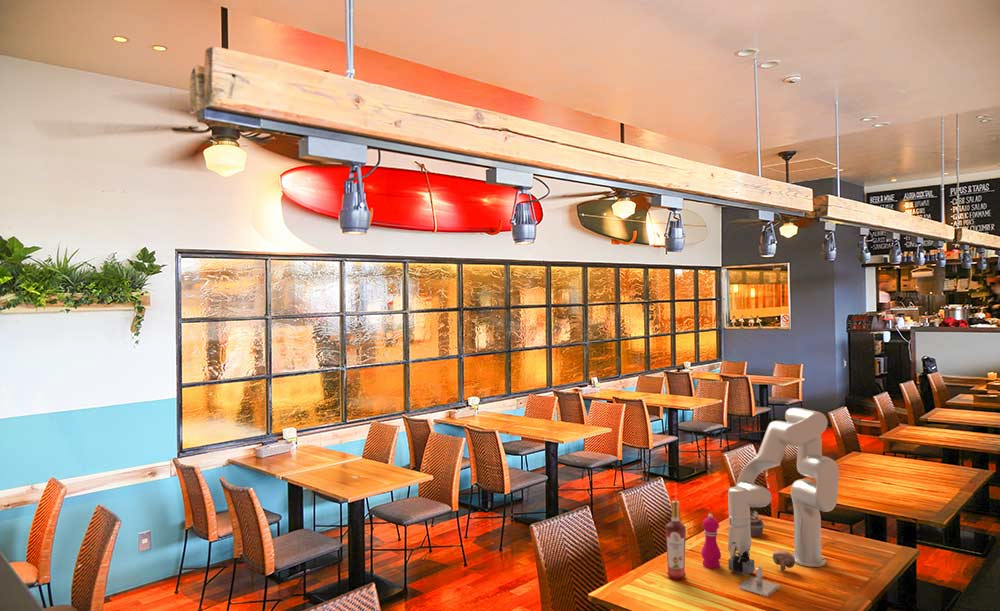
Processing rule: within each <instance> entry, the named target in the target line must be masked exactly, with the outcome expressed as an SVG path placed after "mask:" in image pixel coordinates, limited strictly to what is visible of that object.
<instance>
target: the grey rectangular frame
mask: <svg viewBox="0 0 1000 611" xmlns="http://www.w3.org/2000/svg"><path fill="white" fill-rule="evenodd" d="M736 556H737V557H738V554H736ZM727 560H728V562H727V564H728V571H732V572H734V573H739V574H741V575H742V574H743V575H746V576H750V575H751V574H752V573H753V572H754V571H755V572H756V568H755V560H754V559H753V558H752V559H751V558H749V559H748V558H744V557H741V562H742V572H741V573H740V572H737V571H734V570H733V560H732V557H731V556H730V557H729V559H727Z"/></svg>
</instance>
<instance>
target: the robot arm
mask: <svg viewBox="0 0 1000 611" xmlns="http://www.w3.org/2000/svg"><path fill="white" fill-rule="evenodd" d="M784 418H785V421H783V420H774V421H773V420H772V421H771V422H769V424H768V425H767V428H766V430H765V433H764V437H763V439H762V441H761V444H760V447H759V449H758V452H757V454H756V456H755V457H753V458H752V459H751V460H750V461H748V463H746V465H744V466H743V468H742V469H741V471H740V473H739V475H738V477H737V480H736V483H735V486H731V487H729V489H728V491H727V499H728V503H727V504H728V522H729V527H728V536H727V537H728V540H727V544H728V545H727V546H728V548H727V549H728V552H730V553H729V556H730V558H731V557H732V560H733V570H734V571H737V572H736V573H738V572H740V573H739V574H741V572H742V562H741V557H744V558H748V559H750V556H751V555H750V554H751V553H750V550H751V547H752V537H751V532H750V511H751V509H750V508H763V507H766V506H769V505H770V503H771V502H772V493H771V492H770V491H769V489H767V488H766V487H764V486H761V485H758V484H755V481H756V479H757V478H758V476H759V475H760V474H761V473H762V472H763V471H766V470H769V469H772V468H776V467H778V466H780V464H781V462H782V459H783V457H784V454H785V451H786V449H787V446H790V447H795V448H797V454H796V470H797V472H798V473H799V474H800V475H802V476H804V477H806V478H809V479H806V478H803V479H802V478H800V479H797V480H795V481H793V483H792V484H791V487H790V498H791V500H792V506H793V524H794V525H793V532H794V533H793V536H794V538H793V540H794V543H793V544H794V547H793V548H794V552H793V553H791V554H792V555H793V557H794V558H795V564H797V565H800V566H804V567H809V568H819V567H824V566H826V564H827V560H826V558H824V557H823V556H822V550H823V547H822V529H821V528H822V524H821V523H822V518H821V513H820V511H822V512H826V513H828V512H831V511H833V510H834V508H835V507H836V505H837V502H838V497H839V495H838V494H839V483H840V482H839V481H840V470H839V467H838V464H837V463H836V461H835V460H834V459H832V458H830V457H828V456H825V455H823V454H822V453H823V448H822V447H823V443H822V437H821V435H822V434H823V433H824V432H825V431H826V430H827V428H828V425H829V424H828V419H827V417H826V415H825V414H823V413H822V412H820V411H816V410H812V409H811V410H810V409H806V408H802V407H789V408H788V409H787V410H786V411H785V414H784ZM810 479H814V480H816V481H812V480H810ZM736 555H737V556H738V557H737V556H736ZM734 571H733V572H734Z"/></svg>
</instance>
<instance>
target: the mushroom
mask: <svg viewBox="0 0 1000 611" xmlns="http://www.w3.org/2000/svg"><path fill="white" fill-rule="evenodd" d="M792 554H793V553H791V552H789V551H786V550H776V551H774V552H773V554H772V559H773V560H772V561H773V562H774V564H776V565H777V566H779V567H780V568H779V569H780V571H781V572H784V571H785V570H786V568H788V569H791V568H793V567H794V566H795V565H796V563H795V558H794V557H793V555H792Z"/></svg>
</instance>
